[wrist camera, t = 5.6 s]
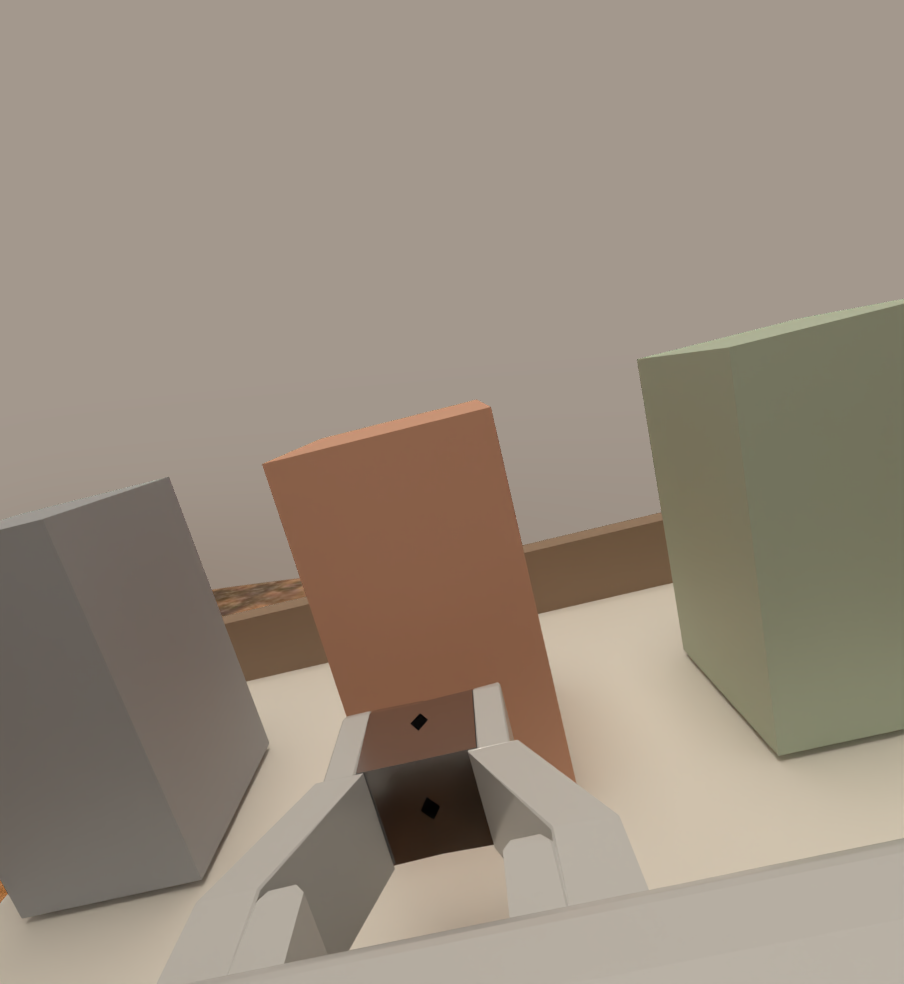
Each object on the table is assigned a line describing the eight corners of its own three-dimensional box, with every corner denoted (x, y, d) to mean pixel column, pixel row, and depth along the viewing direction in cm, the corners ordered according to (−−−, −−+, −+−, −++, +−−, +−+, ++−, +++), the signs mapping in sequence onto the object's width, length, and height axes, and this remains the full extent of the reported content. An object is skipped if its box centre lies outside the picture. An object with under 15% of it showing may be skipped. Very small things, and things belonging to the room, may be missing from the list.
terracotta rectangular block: (387, 839, 13) (262, 464, 11) (404, 712, 17) (320, 438, 15) (579, 798, 12) (490, 407, 10) (542, 681, 17) (476, 399, 15)
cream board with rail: (-421, 1498, 7) (-626, 1323, 6) (208, 689, 26) (180, 617, 25) (1696, 1140, 6) (1813, 859, 5) (746, 565, 24) (736, 484, 24)
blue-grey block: (21, 918, 13) (-170, 571, 11) (137, 772, 18) (20, 514, 16) (201, 879, 13) (42, 519, 11) (269, 743, 18) (168, 476, 16)
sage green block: (778, 755, 12) (728, 347, 10) (683, 649, 17) (636, 359, 15) (984, 711, 12) (977, 285, 10) (828, 616, 17) (801, 317, 15)
